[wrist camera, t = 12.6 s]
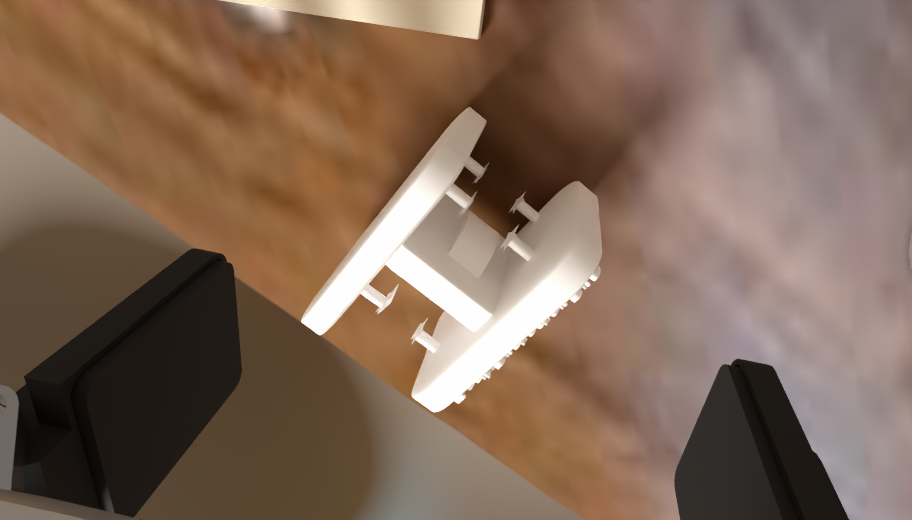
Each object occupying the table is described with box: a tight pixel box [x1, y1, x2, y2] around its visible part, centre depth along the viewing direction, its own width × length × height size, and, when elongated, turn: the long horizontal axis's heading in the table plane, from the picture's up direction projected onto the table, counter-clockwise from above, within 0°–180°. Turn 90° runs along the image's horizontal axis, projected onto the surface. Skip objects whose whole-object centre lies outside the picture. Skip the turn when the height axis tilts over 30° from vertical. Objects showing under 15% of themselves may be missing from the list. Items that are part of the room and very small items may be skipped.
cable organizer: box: [301, 107, 602, 412], centre depth 36 cm, size 15×11×12 cm
